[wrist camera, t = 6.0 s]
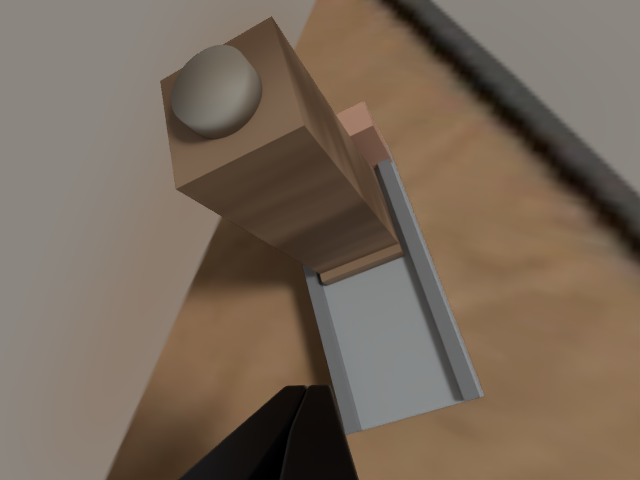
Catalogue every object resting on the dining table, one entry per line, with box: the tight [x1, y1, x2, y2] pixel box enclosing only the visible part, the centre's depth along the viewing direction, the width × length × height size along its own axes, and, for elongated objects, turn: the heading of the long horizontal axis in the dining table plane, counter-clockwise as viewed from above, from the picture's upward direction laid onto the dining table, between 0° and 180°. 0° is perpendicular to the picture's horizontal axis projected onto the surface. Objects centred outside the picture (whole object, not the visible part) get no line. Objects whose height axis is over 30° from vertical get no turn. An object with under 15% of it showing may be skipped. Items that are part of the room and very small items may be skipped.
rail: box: [302, 101, 484, 435], centre depth 20 cm, size 13×6×5 cm, turn 16°
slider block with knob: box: [160, 17, 405, 285], centre depth 17 cm, size 5×4×12 cm
